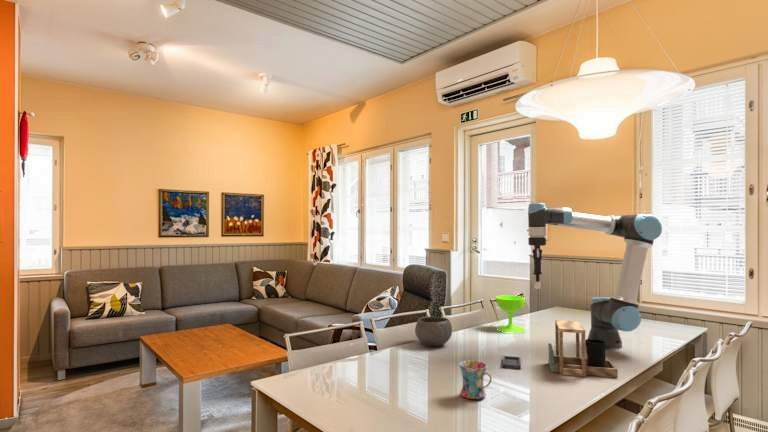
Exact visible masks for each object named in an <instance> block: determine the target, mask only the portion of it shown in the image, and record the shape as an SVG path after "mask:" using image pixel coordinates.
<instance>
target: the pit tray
mask: <svg viewBox="0 0 768 432" xmlns="http://www.w3.org/2000/svg"><path fill="white" fill-rule="evenodd" d="M521 362H522V361H521V356H512V355H503V357H502V368H503V369H511V370H522V363H521Z"/></svg>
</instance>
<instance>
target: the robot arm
mask: <svg viewBox="0 0 768 432" xmlns="http://www.w3.org/2000/svg"><path fill="white" fill-rule="evenodd" d="M527 207H528V209H527V215H528V217H527V218H528V221H527V222H528V229H526V232H527V233H528V245H529V246H534V247H533V249H532V259H533V273H532V274H533V279H534V281H533V285H534V289H535V290H541V288H542V285H541V284H542V279H541V278H542V276H541V275H542V274H543V273H542V254H543V249H541V246H544V247H545V246H547V237H546V236H547V225H549V226H559V227H567V228H575V229H581V230H582V229H583V230H589V231H596V232H604V233H605V235H611V236H616V237H619V238H623V241H624V243H625V244H626V246H625V249H624V250H625V251H624V255H623V259H622V263H621V267H620V272H619V277H618V281H617V284H616V288H615V292H614V294H613V295H611V296H610V297H609V296H607V297H605V296H601V297H600V296H599V297H598V296H596V297H591V300H590V329H589V332H588V336H587V338H586V339H599V340H603V341H606V342H607V346H606V349H608V348H617V349H621V348H623V341H622V339H621V335H620V332H619V331H622V332H627V333H628V332H629V333H630V332H633V331H634V330H636V329H637V328H638V327H639V326H640V325H641V321H642V314H641V312H640V310H639V305H640V303H639V302H638V301H637V298H638V294H639V288H640V284H641V280H642V275H643V271H644V267H645V263H646V258H647V254H648V250H649V249H650V248H651V247H653V246H654V245H653V244H654V241H655V240H656V239H658V238H659V237H660V236H661V235H662V232H663V226H662V222H661V221H660V220H659V218H658V217H657V216H655V215H653V214H648V213H640V214H625V215H624V214H623V215H613V214H609V215H606V216H605V215H604V216H603V215H599V214H598V215H596V214H591V213H590V214H589V213H583V212H582V213H581V212H575V211H574V212H573V210H572V208H570V207H565V206H562V207H556V206H555V207H547V205H546V203H545V202H532V203H529V204H528V206H527ZM620 347H621V348H620Z"/></svg>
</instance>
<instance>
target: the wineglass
mask: <svg viewBox="0 0 768 432" xmlns="http://www.w3.org/2000/svg"><path fill="white" fill-rule="evenodd" d="M495 302H496V304H497V306H498V308H500V310H502V311H504V312H507V313H508V323H507V324H503V325H498V326H497V327H496V328H497V329H498V330H500V331H503V332H524V331H526V329H525V328H524V327H521V326H518V325H514V324H513V313H517V312H519V310H521V309H522V308H523V307H524V305H525V303H526V297H523V296H518V295H497V296H496V295H495ZM503 332H502V333H503ZM524 333H525V332H524Z"/></svg>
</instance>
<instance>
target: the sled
mask: <svg viewBox="0 0 768 432" xmlns="http://www.w3.org/2000/svg"><path fill="white" fill-rule="evenodd" d="M547 347H548V364H549V368H550V369H549V370H550V372H552V373H553V372H556V373H560V363H559V356H556V355H555V351H554V348H553V345H552V343H550V342H549V343H548V346H547ZM563 368H569V369H581V370H582V357H580V358H578V357H576V356H575V357H573V356H564V355H563ZM618 371H619V370H618V368H617V367H616V365H615V364H614V363H613V362H612V360H611V359H605V368H604V367H592V366H588V361H587V357H586V376H599V377H608V378H618V377H619V376H618V375H619V373H618Z"/></svg>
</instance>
